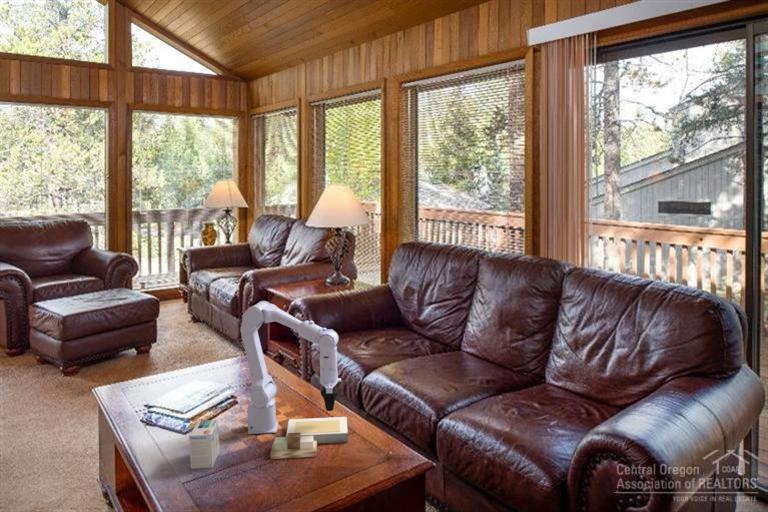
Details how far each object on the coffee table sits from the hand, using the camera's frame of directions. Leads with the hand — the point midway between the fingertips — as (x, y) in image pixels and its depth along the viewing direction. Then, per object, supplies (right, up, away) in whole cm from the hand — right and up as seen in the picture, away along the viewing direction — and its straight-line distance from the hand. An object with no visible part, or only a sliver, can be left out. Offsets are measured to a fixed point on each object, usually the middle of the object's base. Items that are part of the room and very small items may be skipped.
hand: (329, 405), depth 194 cm
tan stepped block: (-10, -12, -11) cm, 19 cm away
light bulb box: (-37, -13, -16) cm, 42 cm away
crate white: (-6, -10, -11) cm, 16 cm away
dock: (-4, -10, +1) cm, 11 cm away
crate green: (-14, -10, -12) cm, 21 cm away
